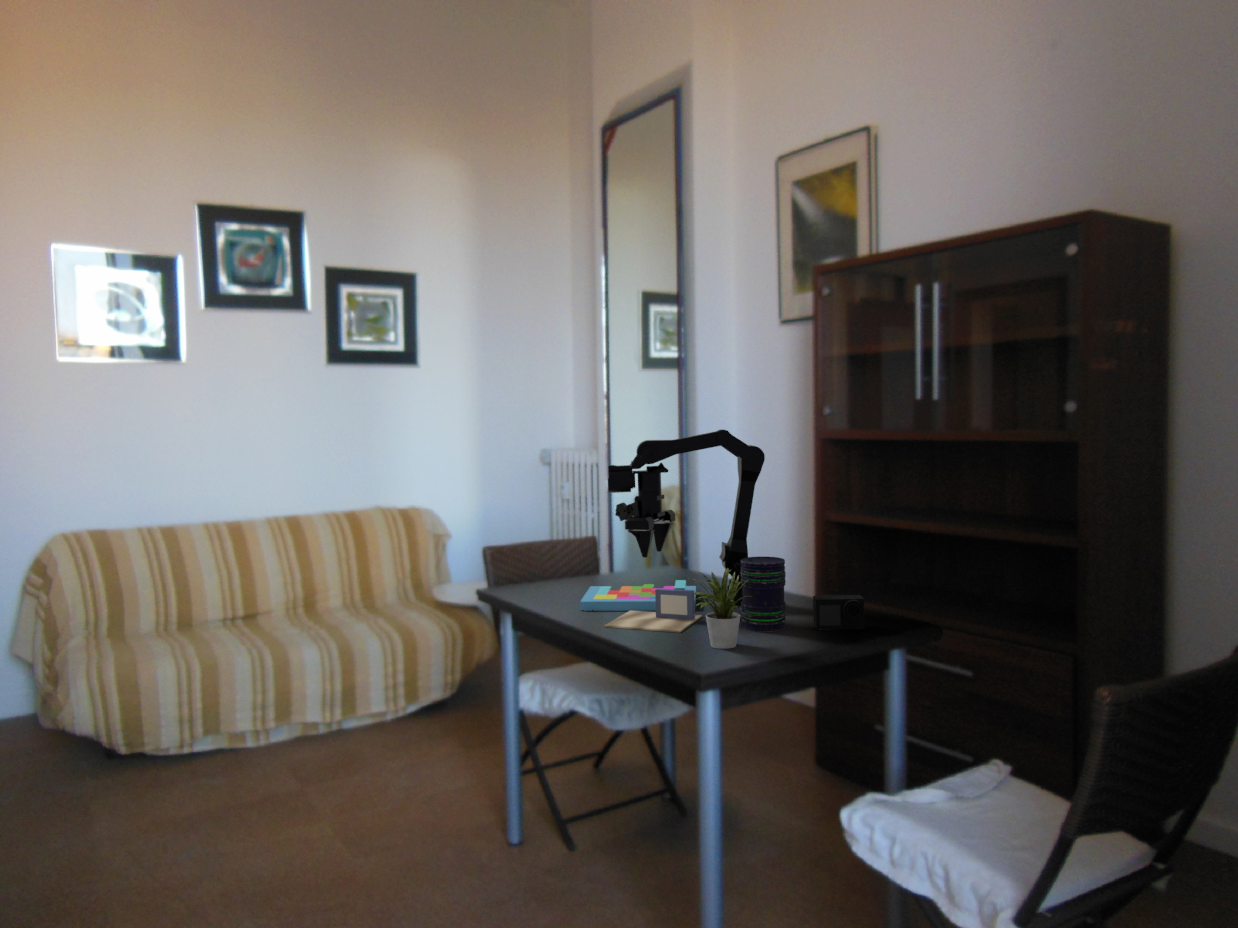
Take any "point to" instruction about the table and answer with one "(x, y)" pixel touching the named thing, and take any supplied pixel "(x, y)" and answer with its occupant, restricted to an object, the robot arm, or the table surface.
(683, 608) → the card deck
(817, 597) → the digital camera
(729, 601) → the house plant
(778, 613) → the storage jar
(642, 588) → the tetris game
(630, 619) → the wooden mat
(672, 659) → the table surface
